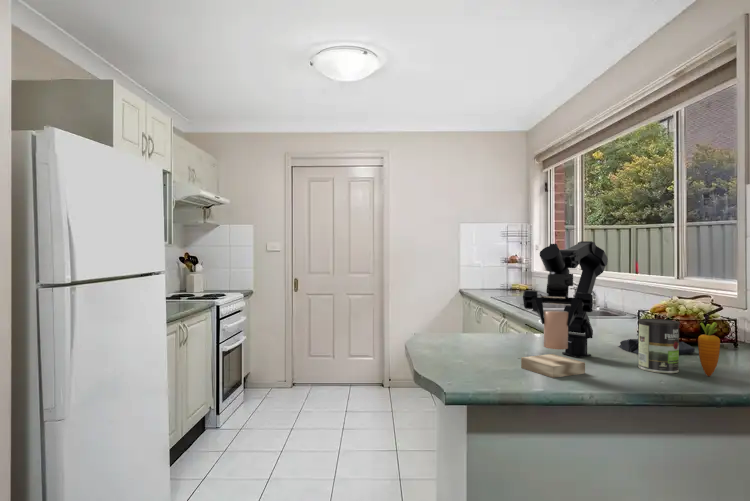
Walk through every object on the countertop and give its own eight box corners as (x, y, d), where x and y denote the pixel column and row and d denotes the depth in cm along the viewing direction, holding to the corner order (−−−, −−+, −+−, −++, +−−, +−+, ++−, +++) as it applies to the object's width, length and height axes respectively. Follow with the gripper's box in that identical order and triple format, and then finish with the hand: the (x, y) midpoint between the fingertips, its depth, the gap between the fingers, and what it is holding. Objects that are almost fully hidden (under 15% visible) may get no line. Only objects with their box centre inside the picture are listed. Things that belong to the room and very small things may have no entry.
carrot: (693, 374, 134) (693, 320, 134) (710, 374, 135) (710, 320, 135) (707, 378, 129) (707, 323, 129) (724, 378, 130) (725, 323, 130)
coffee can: (687, 371, 138) (687, 322, 138) (664, 375, 133) (665, 324, 133) (651, 363, 147) (652, 317, 147) (630, 367, 142) (630, 319, 142)
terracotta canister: (555, 344, 140) (555, 309, 140) (573, 348, 135) (573, 312, 134) (538, 345, 137) (539, 310, 137) (556, 350, 132) (556, 313, 132)
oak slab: (551, 364, 145) (552, 354, 145) (584, 373, 134) (585, 362, 134) (521, 367, 139) (521, 357, 139) (552, 377, 129) (553, 366, 129)
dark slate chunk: (702, 357, 159) (702, 343, 159) (634, 356, 160) (634, 341, 160) (675, 348, 174) (675, 335, 174) (613, 347, 175) (613, 333, 175)
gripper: (524, 263, 143) (518, 304, 133) (592, 264, 136) (592, 308, 126) (527, 287, 151) (521, 328, 141) (592, 290, 143) (592, 333, 133)
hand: (555, 324), depth 135 cm, fingers closed on terracotta canister, 6 cm apart
